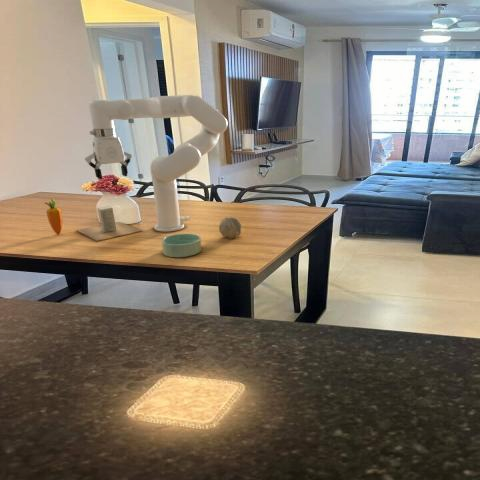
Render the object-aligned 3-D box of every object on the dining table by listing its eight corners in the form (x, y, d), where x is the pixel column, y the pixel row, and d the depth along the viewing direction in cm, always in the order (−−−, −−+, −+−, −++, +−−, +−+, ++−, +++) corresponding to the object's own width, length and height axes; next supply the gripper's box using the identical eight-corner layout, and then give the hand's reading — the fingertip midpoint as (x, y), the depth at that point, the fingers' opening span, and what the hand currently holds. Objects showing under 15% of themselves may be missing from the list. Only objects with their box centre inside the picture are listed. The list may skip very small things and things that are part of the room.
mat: (119, 222, 177) (119, 221, 177) (141, 231, 165) (141, 230, 165) (77, 231, 164) (77, 230, 164) (97, 241, 152) (97, 240, 152)
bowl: (188, 243, 152) (187, 231, 151) (208, 251, 144) (207, 238, 143) (155, 252, 142) (154, 239, 141) (176, 261, 134) (174, 247, 133)
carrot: (58, 237, 156) (51, 201, 151) (48, 236, 157) (40, 200, 152) (68, 233, 160) (61, 198, 156) (58, 232, 161) (51, 197, 156)
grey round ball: (241, 242, 162) (248, 222, 158) (224, 243, 155) (231, 222, 152) (229, 231, 167) (235, 211, 163) (212, 232, 160) (218, 211, 157)
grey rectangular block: (113, 228, 168) (110, 205, 164) (116, 230, 164) (113, 207, 161) (100, 230, 164) (97, 207, 161) (103, 232, 161) (99, 209, 158)
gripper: (84, 135, 140) (93, 181, 146) (131, 133, 152) (138, 175, 158) (76, 134, 145) (85, 179, 150) (123, 132, 157) (130, 173, 163)
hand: (112, 177), depth 154 cm, fingers open, 9 cm apart
